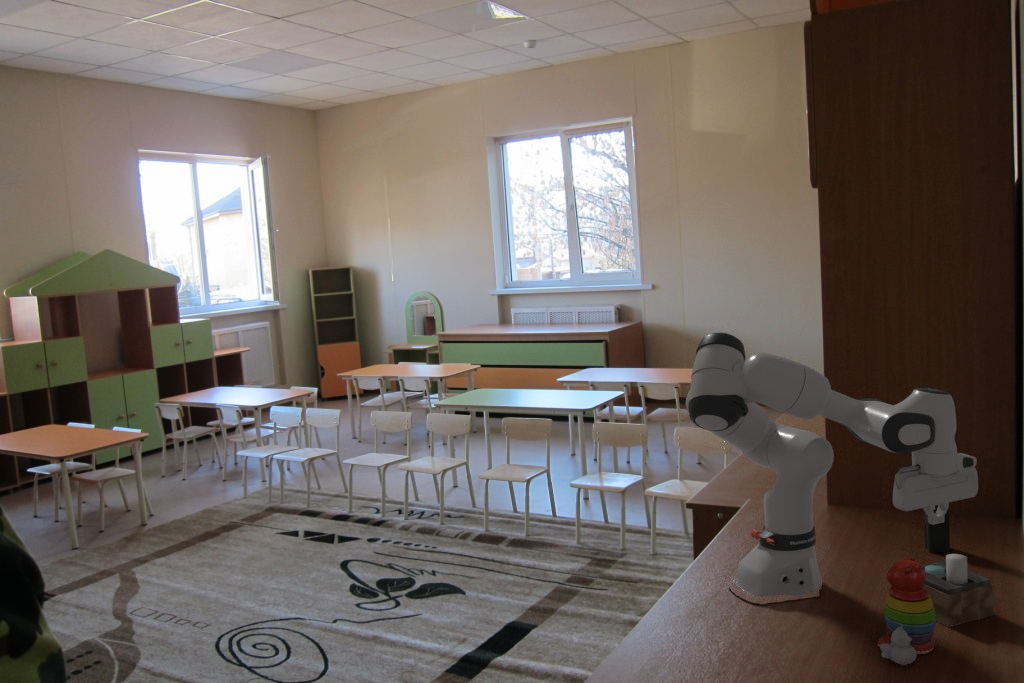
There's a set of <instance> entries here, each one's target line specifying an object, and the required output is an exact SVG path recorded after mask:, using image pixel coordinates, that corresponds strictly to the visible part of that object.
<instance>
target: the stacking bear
mask: <svg viewBox="0 0 1024 683" xmlns="http://www.w3.org/2000/svg"><path fill="white" fill-rule="evenodd" d="M884 573H885V578H886V580H887V582H888V583H889V584H890V585H891V586H890V587H889V588H888V589H887V590H888V591H887V595H886V598H885V603H884V608H883V609H884V610H883V613H884V619H885V623H886V628H887V629H886V632H887V631H888V634H887V633H886V634H885V635H884V636H882V637H880V638H879V639H878V641H877V644H878V643H879V644H880V645H881V644H889V645H890V643H891V642H892V641H891V636H892V633H893V632H894V631H895V630H896V629H897V628H898V627H901V625H902V626H903V630H905V631H906V632H907V634H908V636H909V637H910V638H911V639H912V640H911V641H910V644H909V645H911V646H912V647H913V648H914V649H915V650H916V651H920V652H921V651H926V650H930V649H932V648H934V646H935V647H936V642H935V640H934V638H933V634H934V630H935V627H936V621H935V620H936V619H935V610H934V607H933V603H932V599H931V596H930V595H929V594H928V592H927V591H926V590H925V589H924V588H923V586H924V584H925V579H926V573H925V570H924V569H923V567H922V564H920V563H919V562H917V561H916V560H915V558H913V557H912V556H909V557H908V559H905V558H904V559H899V560H897V561H896V562H895V563H893V565H892V566H891V567H890V568H889V569H887V570H886V571H885V572H884Z"/></svg>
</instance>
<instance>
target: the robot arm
mask: <svg viewBox="0 0 1024 683" xmlns="http://www.w3.org/2000/svg"><path fill="white" fill-rule="evenodd" d="M690 379H691V380H690V389H689V391H687V392H688V393H687V394H686V398H685V407H686V408H685V409H686V410H687V413H688V416H689V418H690V419H689V420H690V421H691V422H692V423H693V424H694V425H696V426H697V427H699V428H700V429H702V430H706V431H709V432H710V433H711V434H713V435H715V436H717V437H719V438H720V439H722V440H724V441H725V442H727V443H729V444H730V445H731V446H733V447H735V448H737V449H738V450H739V451H741V453H742V455H743V456H744V457H745V458H747V459H748V460H749V461H751V462H753V463H754V464H755V465H758V466H760V467H763V468H766V469H770V470H773V471H775V473H776V480H775V485H774V486H773V487H771V488H769V490H767V492H766V493H765V494H764V495H763V496H764V497H763V511H764V526H763V528H762V531H759V530H757V528H756V529H755V528H754V529H751V531H750V536H751V537H752V538H754V539H755V540H758V541H759V542H758V544H757V545H756V546H755V547H753V549H751V551H749V553H747V555H745V556H744V557H743V558H741V560H740V561H738V562H739V563H738V565H737V570H736V571H737V572H736V578H733V579H734V580H733V579H732V580H733V582H732V583H734V582H735V580H737V581H736V583H735V584H736V585H737V586H738V587H740V588H741V589H742V590H743V591H746V592H747V593H749V594H752V595H755V596H762V597H763V596H773V595H774V596H776V595H784V594H785V595H786V594H787V595H792V596H804V595H812V594H818V593H819V594H820V591H819V587H820V586H821V585H822V581H823V579H822V577H821V573H820V568H819V565H818V561H817V555H816V553H817V552H816V547H815V546H816V543H817V542H816V541H817V540H816V539H817V536H816V527H815V526H814V520H813V517H814V515H813V514H814V512H813V511H814V507H813V501H814V500H813V497H814V494H815V492H814V491H815V489H816V487H817V484H818V482H819V481H820V479H821V478H823V477H824V476H825V475H827V474H828V472H829V471H830V470H831V468H832V466H833V462H834V458H835V457H834V449H833V446H832V444H831V443H830V442H829V441H828V439H826V438H824V437H822V436H820V435H819V434H817V433H815V432H812V431H811V430H806V429H800V428H796V427H793V426H789V425H786V424H783V423H781V422H780V423H779V422H777V421H775V420H773V419H772V418H770V416H769V412H768V411H767V410H766V409H765V408H764V407H763V406H761V405H764V406H766V407H768V408H770V409H773V410H775V411H778V412H780V413H783V414H785V415H788V416H792V417H796V418H801V419H806V420H812V419H815V418H817V417H819V416H821V417H822V418H823V417H824V418H826V419H828V420H831V421H834V422H836V423H839V424H841V425H842V426H844V427H845V428H846V429H847V430H848V431H849V432H850V433H851V435H852V436H854V437H855V438H856V439H858V440H859V441H861V442H863V443H867V444H871V445H873V446H876V447H878V448H881V449H883V450H885V451H888V452H891V453H892V454H893V453H894V454H899V455H900V454H901V455H903V454H909V453H911V465H910V466H907V467H906V466H904V467H901V468H899V470H898V471H897V472H896V473H895V475H894V483H893V489H892V490H893V491H892V505H893V506H894V507H895V508H896V509H898V510H900V511H904V512H910V511H915V510H918V509H919V510H920V509H923V512H924V511H925V513H926V514H927V515H928V523H929V524H932V525H934V524H938V523H943V522H944V521H945V519H944V515H945V514H946V512H947V509H948V507H949V508H950V503H952V502H957V501H961V500H965V499H966V500H967V499H971V498H974V497H976V496H977V494H978V491H979V477H978V475H979V474H978V471H977V469H976V466H977V461H978V460H977V457H975V456H973V455H969V454H967V453H963V452H958V447H957V444H956V440H955V436H956V432H957V414H956V407H955V406H956V405H955V403H954V399H953V397H952V395H951V394H950V393H949V392H947V391H945V390H942V389H938V388H936V389H935V388H931V387H916V388H914V389H913V390H912V392H911V393H910V395H908V396H907V397H906V398H905V399H903V400H902V401H900V402H899V403H896V404H890V403H886V402H885V401H882V400H880V399H878V398H871V397H870V398H869V397H868V398H867V397H866V398H854V397H850V396H848V395H847V394H842V393H841V392H838V391H836V390H833V389H832V387H831V383H830V380H829V378H827V377H826V376H824V374H822V373H820V372H819V371H817V370H815V369H814V368H812V367H810V366H808V365H806V364H804V363H800V362H798V361H795V360H793V359H789V358H787V357H784V356H779V355H775V354H771V353H765V352H756V353H753V354H751V355H749V356H748V357H747V358H746V351H745V346H744V344H743V342H742V341H741V340H740V338H738V337H736V336H734V335H732V334H730V333H726V332H713V333H710V334H707V335H705V336H703V337H702V338H701V340H700V341H699V343H698V346H697V348H696V351H695V359H694V362H693V366H692V370H691V375H690ZM759 404H760V405H759ZM935 505H938V508H937V511H936V513H934V511H933V510H935ZM806 591H810V592H812V593H810V594H808V593H805V592H806Z"/></svg>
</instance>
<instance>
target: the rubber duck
mask: <svg viewBox="0 0 1024 683" xmlns="http://www.w3.org/2000/svg"><path fill="white" fill-rule="evenodd" d="M911 640H912V639H911V638H910V637H909V636H908V634H907V632H906V631H905V630H903V626H902V625H901V627H898V628H897V629H896V630H895V631H894V632H893V633H892V636H891V641H892V642H891V643H890V645H889V644H881V645H880V648H879V650H881V653H880V655H881V657H882V658H883V659H890V660H891V661H892V660H893V661H895V662H897V663H902V664H906V663H910V662H913V661H914V662H915V660H916V659H917V656H918V655H917V652H916V650H915V649H914V648H913V647H912V646H911V645H909V644H910V641H911ZM893 661H892V662H893ZM914 662H913V663H914Z"/></svg>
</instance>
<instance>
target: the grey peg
mask: <svg viewBox="0 0 1024 683" xmlns="http://www.w3.org/2000/svg"><path fill="white" fill-rule="evenodd" d="M945 561H946V575H947V582H949V583H952V584H954V585H956V586H959V585H963V584H967V583H968V576H967V570H968V557H967V556H966V555H963V554H960V553H959V554H958V553H949V554H946V555H945Z"/></svg>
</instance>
